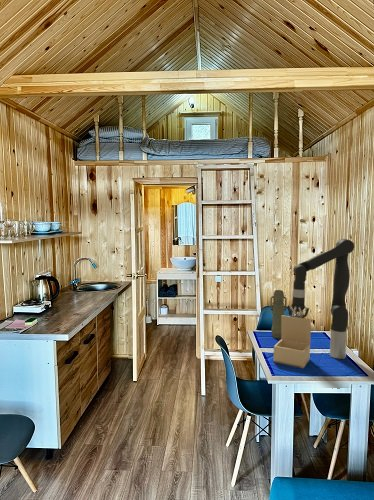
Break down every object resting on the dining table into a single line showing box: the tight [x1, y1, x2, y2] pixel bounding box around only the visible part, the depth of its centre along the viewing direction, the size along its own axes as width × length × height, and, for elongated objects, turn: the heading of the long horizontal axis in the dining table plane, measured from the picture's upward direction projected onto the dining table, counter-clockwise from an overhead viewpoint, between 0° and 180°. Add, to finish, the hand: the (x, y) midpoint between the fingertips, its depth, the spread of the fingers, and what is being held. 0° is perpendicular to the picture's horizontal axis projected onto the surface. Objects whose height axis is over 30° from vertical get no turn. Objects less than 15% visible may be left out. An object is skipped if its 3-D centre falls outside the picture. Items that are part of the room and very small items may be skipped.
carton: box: [273, 338, 311, 369], centre depth 225 cm, size 18×16×10 cm
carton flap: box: [280, 314, 312, 345], centre depth 233 cm, size 18×16×7 cm
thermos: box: [269, 289, 288, 339], centre depth 273 cm, size 9×12×35 cm
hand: (297, 322), depth 235 cm, fingers closed on carton flap, 4 cm apart
